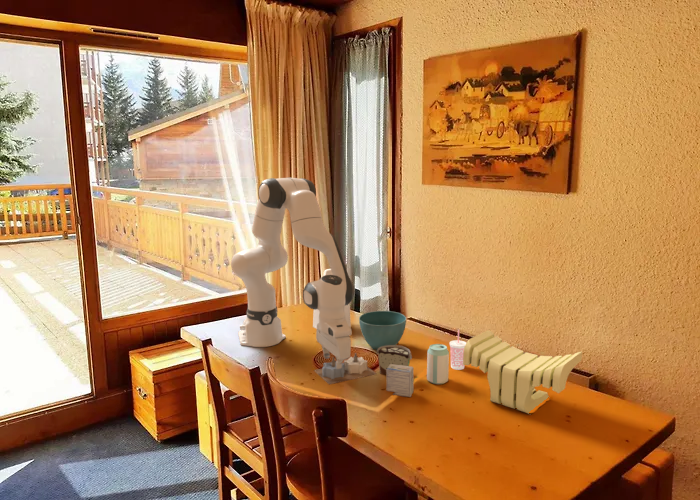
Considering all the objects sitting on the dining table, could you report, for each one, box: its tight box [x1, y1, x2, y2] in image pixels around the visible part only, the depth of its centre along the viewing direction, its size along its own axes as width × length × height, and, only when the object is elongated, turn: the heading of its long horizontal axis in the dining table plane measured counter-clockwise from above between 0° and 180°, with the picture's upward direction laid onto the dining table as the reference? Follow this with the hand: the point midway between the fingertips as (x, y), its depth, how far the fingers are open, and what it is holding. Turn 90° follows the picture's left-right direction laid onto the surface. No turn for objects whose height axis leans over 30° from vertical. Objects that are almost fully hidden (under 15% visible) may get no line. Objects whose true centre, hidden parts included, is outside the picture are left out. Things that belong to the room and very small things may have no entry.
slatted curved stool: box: [463, 329, 583, 414], centre depth 165 cm, size 30×16×18 cm, turn 47°
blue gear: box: [321, 361, 345, 379], centre depth 185 cm, size 7×8×3 cm
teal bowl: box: [358, 310, 407, 351], centre depth 211 cm, size 18×18×12 cm
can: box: [426, 343, 450, 385], centre depth 181 cm, size 7×7×12 cm
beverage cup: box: [448, 329, 467, 371], centre depth 192 cm, size 6×6×14 cm
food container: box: [376, 344, 413, 376], centre depth 185 cm, size 12×6×10 cm, turn 65°
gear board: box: [313, 352, 377, 385], centre depth 186 cm, size 13×18×7 cm
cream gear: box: [343, 356, 368, 374], centre depth 188 cm, size 7×8×3 cm
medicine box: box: [386, 364, 414, 398], centre depth 172 cm, size 8×4×9 cm, turn 71°
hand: (332, 362), depth 184 cm, fingers open, 8 cm apart
